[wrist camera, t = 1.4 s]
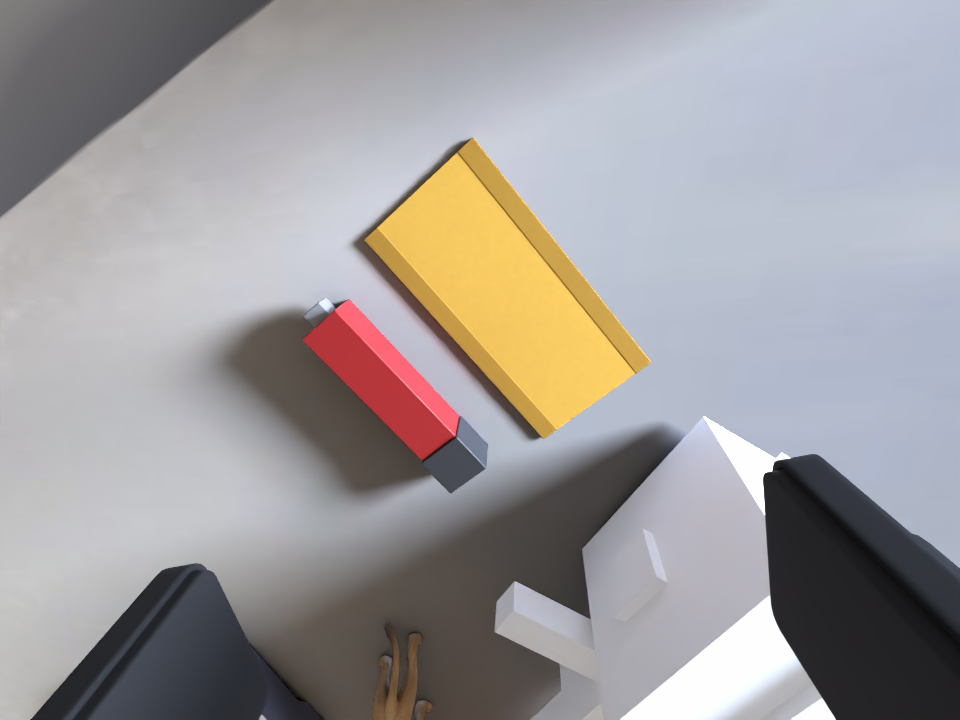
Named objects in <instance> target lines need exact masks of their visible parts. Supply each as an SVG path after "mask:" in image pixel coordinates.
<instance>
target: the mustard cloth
mask: <svg viewBox="0 0 960 720" xmlns="http://www.w3.org/2000/svg"><path fill="white" fill-rule="evenodd" d="M364 241H365V242H366V243H367V244H368V245H369V246H370V247H371V248H372V249H373V251H374V252H375V253H376V254H377V255H378V256H379V257H380V258H381V259H382V261H383V262H384V263H385V264H386V265H387V266H388V267H389V268H390V269H391V271H392V272H393V273H394V274H395V275H396V276H397V277H398V278H399V279H400V281H401V282H402V283H403V284H404V285H405V286H406V287H407V288H408V289H409V291H410V292H411V293H412V294H413V295H414V296H415V297H416V298H417V299H418V301H419V302H420V303H421V304H422V305H423V306H424V307H425V308H426V309H427V310H428V312H429V313H430V314H431V315H432V316H433V317H434V318H435V319H436V320H437V322H438V323H439V324H440V325H441V326H442V327H443V328H444V329H445V330H446V332H447V333H448V334H449V335H450V336H451V337H452V338H453V339H454V340H455V342H456V343H457V344H458V345H459V346H460V347H461V348H462V349H463V350H464V352H465V353H466V354H467V355H468V356H469V357H470V358H471V359H472V360H473V362H474V363H475V364H476V365H477V366H478V367H479V368H480V369H481V370H482V371H483V373H484V374H485V375H486V376H487V377H488V378H489V379H490V380H491V381H492V383H493V384H494V385H495V386H496V387H497V388H498V389H499V390H500V391H501V393H502V394H503V395H504V396H505V397H506V398H507V399H508V400H509V401H510V403H511V404H512V405H513V406H514V407H515V408H516V409H517V410H518V411H519V413H520V414H521V415H522V416H523V417H524V418H525V419H526V420H527V421H528V423H529V424H530V425H531V426H532V427H533V428H534V429H535V430H536V431H537V432H538V434H539V435H540V436H541V437H542V438H543V439H544V438H546V437H547V436H549V435H550V434H551V433H553V432H554V431H556V430H557V429H558V428H560V427H561V426H562V425H564V424H565V423H567V422H568V421H569V420H571V419H572V418H574V417H575V416H576V415H578V414H579V413H581V412H582V411H583V410H585V409H586V408H588V407H589V406H590V405H592V404H593V403H595V402H596V401H598V400H599V399H600V398H602V397H603V396H605V395H606V394H607V393H609V392H610V391H612V390H613V389H614V388H616V387H617V386H619V385H620V384H621V383H623V382H624V381H626V380H627V379H629V378H630V377H631V376H633V375H634V374H636V373H637V372H639V371H640V370H642V369H643V368H644V367H646V366H647V365H649V364H650V363H651V361H650V360H649V359H648V357H647V356H646V355H645V354H644V352H643V351H642V350H641V349H640V347H639V346H638V345H637V344H636V342H635V341H634V340H633V339H632V337H631V336H630V335H629V334H628V332H627V331H626V330H625V328H624V327H623V326H622V325H621V323H620V322H619V321H618V320H617V318H616V317H615V316H614V315H613V313H612V312H611V311H610V310H609V308H608V307H607V306H606V305H605V303H604V302H603V301H602V299H601V298H600V297H599V296H598V294H597V293H596V292H595V291H594V289H593V288H592V287H591V286H590V284H589V283H588V282H587V281H586V279H585V278H584V277H583V276H582V274H581V273H580V272H579V270H578V269H577V268H576V267H575V265H574V264H573V263H572V262H571V260H570V259H569V258H568V257H567V255H566V254H565V253H564V252H563V250H562V249H561V248H560V247H559V245H558V244H557V243H556V241H555V240H554V239H553V238H552V236H551V235H550V234H549V233H548V231H547V230H546V229H545V228H544V226H543V225H542V224H541V223H540V221H539V220H538V219H537V218H536V216H535V215H534V214H533V212H532V211H531V210H530V209H529V207H528V206H527V205H526V204H525V202H524V201H523V200H522V199H521V197H520V196H519V195H518V194H517V192H516V191H515V190H514V189H513V187H512V186H511V185H510V183H509V182H508V181H507V180H506V178H505V177H504V176H503V175H502V173H501V172H500V171H499V170H498V168H497V167H496V166H495V165H494V163H493V162H492V161H491V160H490V158H489V157H488V156H487V154H486V153H485V152H484V151H483V149H482V148H481V147H480V146H479V144H478V143H477V142H476V141H475V139H474V138H471V139H470V140H469V141H468V142H467V143H466V144H465V145H464V146H463V147H462V148H461V149H460V150H459V151H458V152H457V153H456V154H455V155H454V156H452V157H451V158H450V159H449V160H448V161H447V162H446V163H445V164H444V165H443V166H442V167H441V168H440V169H439V170H438V171H437V172H435V173H434V174H433V175H432V176H431V177H430V178H429V179H428V180H427V181H426V182H425V183H424V184H423V185H422V186H421V187H420V188H418V189H417V190H416V191H415V192H414V193H413V194H412V195H411V196H410V197H409V198H408V199H407V200H406V201H405V202H404V203H403V204H402V205H400V206H399V207H398V208H397V209H396V210H395V211H394V212H393V213H392V214H391V215H390V216H389V217H388V218H387V219H386V220H385V221H383V222H382V223H381V224H380V225H379V226H378V227H377V228H376V229H375V230H374V231H373V232H372V233H371V234H370V235H369V236H367V237H366V238H365V239H364Z"/></svg>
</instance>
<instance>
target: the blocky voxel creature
mask: <svg viewBox="0 0 960 720" xmlns="http://www.w3.org/2000/svg"><path fill="white" fill-rule="evenodd" d="M788 458H790V457H788V456H786V455H785V454H783V453H781V454H780V455H779V456H778V457H777V458H776V459H775V458H773V457H772V456H770V455H768V454H767V453H765V452H763V451H762V450H760V449H758V448H757V447H755V446H753V445H751V444H750V443H748V442H746V441H745V440H743V439H741V438H740V437H738V436H736V435H734V434H733V433H731V432H729V431H728V430H726V429H724V428H723V427H721V426H719V425H717V424H716V423H714V422H712V421H711V420H709V419H707V418H706V417H704V416H703V417H702V418H701V419H700V421H699V422H698V423H697V424H696V425H695V426H694V427H693V428H692V429H691V430H690V431H689V433H688V434H687V435H686V436H685V437H684V438H683V439H682V440H681V441H680V442H679V444H678V445H677V446H676V447H675V448H674V449H673V450H672V451H671V452H670V453H669V454H668V456H667V457H666V458H665V459H664V460H663V461H662V462H661V463H660V464H659V465H658V467H657V468H656V469H655V470H654V471H653V472H652V473H651V474H650V475H649V476H648V478H647V479H646V480H645V481H644V482H643V483H642V484H641V485H640V486H639V487H638V488H637V490H636V491H635V492H634V493H633V494H632V495H631V496H630V497H629V498H628V499H627V501H626V502H625V503H624V504H623V505H622V506H621V507H620V508H619V509H618V510H617V512H616V513H615V514H614V515H613V516H612V517H611V518H610V519H609V520H608V521H607V522H606V524H605V525H604V526H603V527H602V528H601V529H600V530H599V531H598V532H597V533H596V535H595V536H594V537H593V538H592V539H591V540H590V541H589V542H588V543H587V544H586V546H585V547H584V548H583V549H582V553H583V561H584V568H585V576H586V584H587V592H588V600H589V608H590V615H591V619H589V618H587V617H585V616H583V615H581V614H579V613H577V612H575V611H573V610H571V609H569V608H567V607H565V606H563V605H561V604H559V603H557V602H555V601H553V600H551V599H549V598H547V597H545V596H543V595H541V594H539V593H537V592H535V591H533V590H531V589H529V588H527V587H526V586H524V585H522V584H520V583H518V582H516V581H514V582H513V583H512V585H511V586H510V587H509V588H508V589H507V590H506V592H505V593H504V594H503V595H502V596H501V597H500V598H499V600H498V601H497V604H496V619H495V632H496V633H498V634H500V635H502V636H504V637H506V638H508V639H510V640H512V641H514V642H516V643H518V644H520V645H522V646H524V647H526V648H528V649H530V650H533V651H535V652H537V653H539V654H541V655H543V656H545V657H547V658H549V659H551V660H553V661H555V662H557V663H559V664H560V676H561V691H560V692H559V693H558V694H557V695H556V696H555V697H554V698H553V699H552V700H551V701H550V702H549V703H547V704H546V705H545V706H544V707H543V708H542V709H541V710H540V711H539V712H538V713H537V714H536V715H535V716H534V717H532V718H531V719H530V720H836V719H835V718H834V716H833V714H832V713H831V711H830V710H829V708H828V706H827V705H826V703H825V702H824V700H823V699H822V697H821V695H820V694H819V692H818V691H817V689H816V687H815V686H814V684H813V683H812V681H811V679H810V678H809V676H808V675H807V673H806V671H805V670H804V668H803V667H802V665H801V664H800V662H799V660H798V659H797V657H796V656H795V654H794V652H793V651H792V649H791V648H790V646H789V644H788V643H787V641H786V640H785V638H784V636H783V635H782V633H781V632H780V630H779V628H778V626H777V624H776V621H775V619H774V616H773V612H772V609H771V599H770V584H769V569H768V554H767V539H766V524H765V509H764V493H763V475H764V473H766V472H770V471H772V467H773V464H774V462H775V461H777V460H782V459H788Z"/></svg>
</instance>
